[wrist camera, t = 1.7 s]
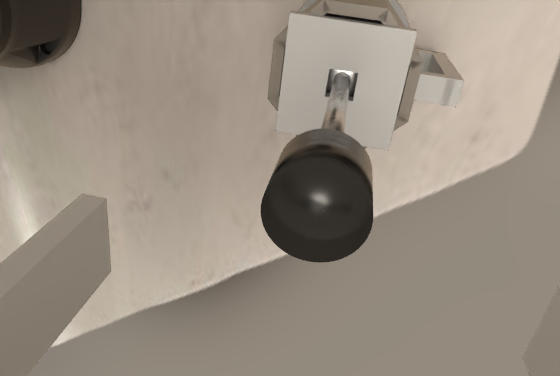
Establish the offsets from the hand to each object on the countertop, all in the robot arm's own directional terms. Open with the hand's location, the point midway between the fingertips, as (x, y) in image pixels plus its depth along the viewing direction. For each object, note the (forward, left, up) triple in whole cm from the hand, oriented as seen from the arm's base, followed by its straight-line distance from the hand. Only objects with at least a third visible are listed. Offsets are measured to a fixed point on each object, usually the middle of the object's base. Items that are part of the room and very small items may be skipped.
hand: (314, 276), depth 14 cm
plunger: (0, 0, -23) cm, 23 cm away
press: (+1, 0, -38) cm, 38 cm away
